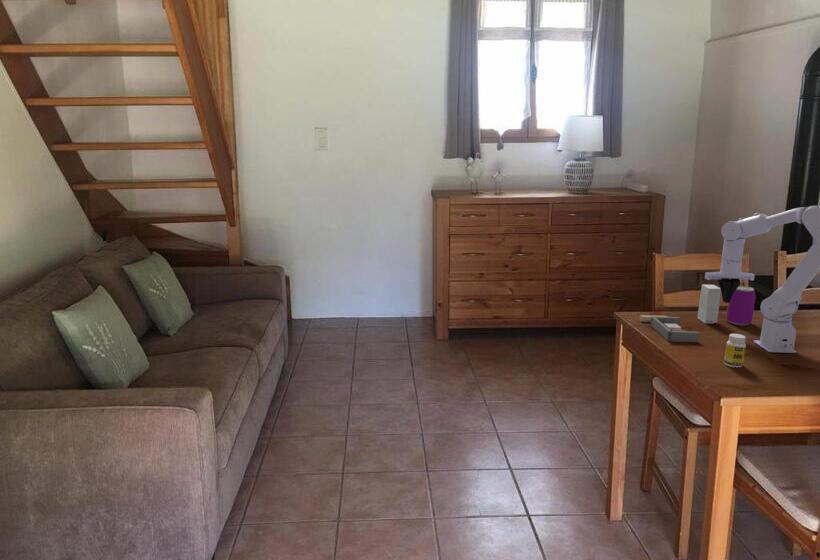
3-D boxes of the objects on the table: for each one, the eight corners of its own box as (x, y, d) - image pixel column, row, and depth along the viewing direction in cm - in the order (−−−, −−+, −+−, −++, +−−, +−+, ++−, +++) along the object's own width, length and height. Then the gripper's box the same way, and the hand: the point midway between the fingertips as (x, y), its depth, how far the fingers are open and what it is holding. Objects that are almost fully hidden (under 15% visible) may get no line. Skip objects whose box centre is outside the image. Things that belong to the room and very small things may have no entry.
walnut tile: (687, 339, 198) (688, 333, 198) (674, 339, 198) (675, 333, 198) (682, 335, 202) (683, 329, 202) (669, 335, 202) (670, 329, 202)
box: (698, 342, 195) (699, 332, 194) (668, 341, 195) (669, 332, 195) (678, 326, 211) (679, 317, 210) (650, 325, 211) (651, 316, 210)
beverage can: (746, 320, 219) (751, 285, 216) (754, 326, 211) (760, 291, 208) (722, 318, 220) (727, 284, 217) (730, 325, 212) (735, 290, 210)
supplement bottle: (732, 368, 174) (736, 339, 172) (719, 362, 179) (723, 333, 177) (746, 367, 176) (751, 337, 174) (733, 361, 180) (738, 332, 178)
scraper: (678, 325, 212) (679, 319, 211) (643, 324, 212) (643, 318, 211) (670, 318, 218) (671, 313, 218) (636, 317, 219) (637, 312, 218)
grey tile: (680, 333, 204) (681, 327, 204) (667, 333, 204) (668, 327, 204) (675, 329, 208) (676, 323, 207) (663, 329, 208) (663, 323, 208)
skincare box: (717, 323, 214) (722, 288, 211) (704, 323, 214) (709, 288, 211) (709, 318, 220) (714, 284, 217) (696, 318, 220) (701, 284, 217)
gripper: (748, 257, 204) (742, 298, 207) (702, 256, 204) (697, 298, 207) (760, 262, 197) (754, 304, 200) (712, 261, 197) (707, 304, 200)
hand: (726, 301), depth 203 cm, fingers closed
